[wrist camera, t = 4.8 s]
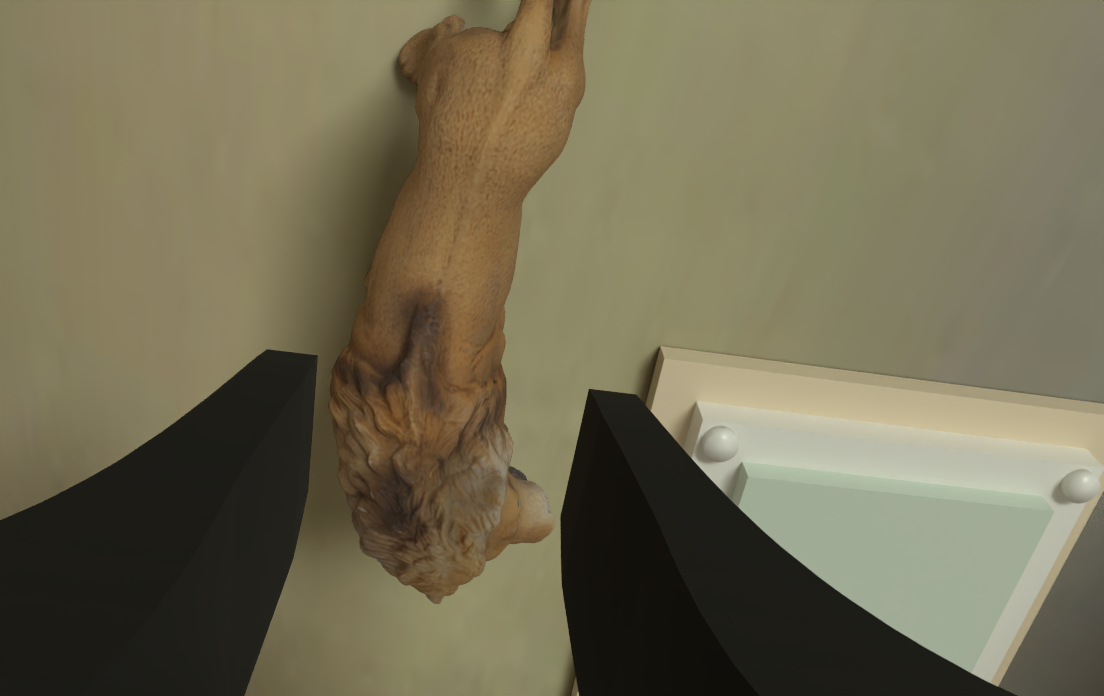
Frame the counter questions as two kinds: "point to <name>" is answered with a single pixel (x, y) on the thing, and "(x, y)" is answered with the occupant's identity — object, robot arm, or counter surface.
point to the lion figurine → (454, 303)
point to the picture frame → (897, 487)
